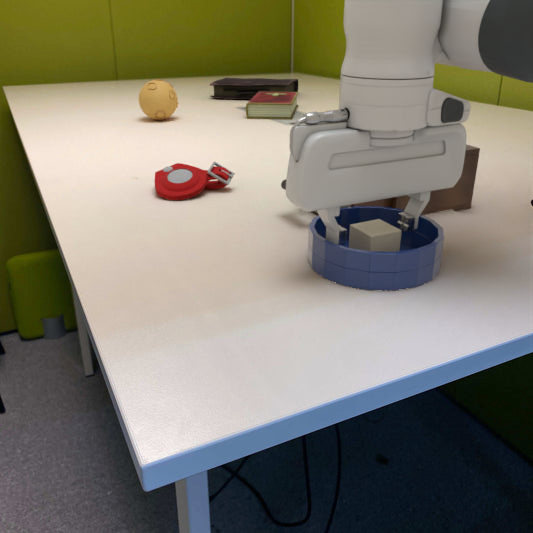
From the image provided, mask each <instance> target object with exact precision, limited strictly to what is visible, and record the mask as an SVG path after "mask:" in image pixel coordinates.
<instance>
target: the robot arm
mask: <svg viewBox="0 0 533 533" xmlns="http://www.w3.org/2000/svg"><path fill="white" fill-rule="evenodd" d="M342 21H343V24H342V25H343V32H344V36H345V53H344V58H343V60H342V64H341V68H340V78H339V93H338V94H339V96H338V109H331V110H326V111H319V112H318V111H309V112H305V113H304V114H303V115H302V117H300V118H298V120H296V121H295V123H293V125H292V126H291V128H290V131H289V152H290V153H289V158H288V164H287V171H286V178H285V179H286V190H285V196H286V198H287V199H288V201H289V202H290V203H291V204H292V205H293V206H295V207H296V208H298V209H299V210H301V211H303V212H307V213H311V212H315V211H316V210H317V212H318V213H317V212H316V213H317V214H318V215H319V216H320V218H321V219H322V221H323V223H324V225H325V226H326V239H327V240H328V241H330V242H332V243H335V244H338V245H342V244H345V243H346V238H345V237H346V236H347V229H345V228H344V227H341V226H340V225H339V224H338V223H337V221H336V219H335V216H339V215H340V206H346V205H352V204H358V203H363V202H369V201H375V200H381V199H387V198H393V197H399V196H405V195H408V196H409V197H411V198H410V200H409V202H408V204H407V206H406V208H405V210H404V212H401V213H398V222H397V226H398V228H399V229H401V230H403V231H405V232H406V231H411V230H415V229H417V227H418V219H419V215H420V214H421V213H422V211H423V210H424V208H425V206H426V205H427V203H428V202H429V200H430V193H431V191H434V190H440V189H446V188H452V187H454V185H455V184H456V183H457V182H458V180H459V179H460V177H461V174H462V170H463V165H464V158H465V150H466V145H467V136H468V135H467V129H466V127H465V126H464V124H463V123H466V122H467V121H468V119H469V117H470V114H471V107H472V106H471V102H470V101H469V100H467V99H465V98H462V97H459V96H456V95H453V94H451V93H448V92H445V91H442V90H441V89H437V88H434V78H435V65H436V64H439V65H443V66H450V67H458V68H460V69H465V70H472V71H480V72H488V73H494V74H497V75H499V76H503V77H506V78H510V79H512V80H513V79H514V80H517V81H521V82H525V83H529V84H533V0H344V4H343V20H342ZM302 123H304V124H302Z"/></svg>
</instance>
